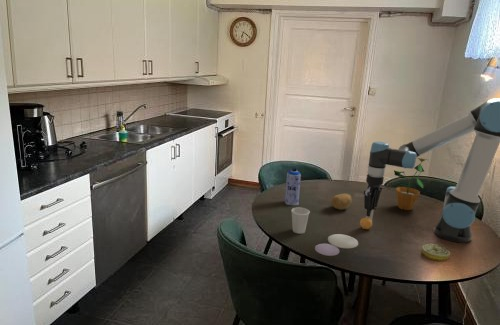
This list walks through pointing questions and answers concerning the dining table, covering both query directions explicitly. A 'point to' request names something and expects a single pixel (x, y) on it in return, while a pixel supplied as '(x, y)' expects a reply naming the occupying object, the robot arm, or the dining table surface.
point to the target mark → (342, 241)
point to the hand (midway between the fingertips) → (368, 221)
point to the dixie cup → (299, 219)
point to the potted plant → (408, 190)
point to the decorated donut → (435, 252)
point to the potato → (341, 201)
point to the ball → (366, 223)
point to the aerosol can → (292, 187)
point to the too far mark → (327, 249)
